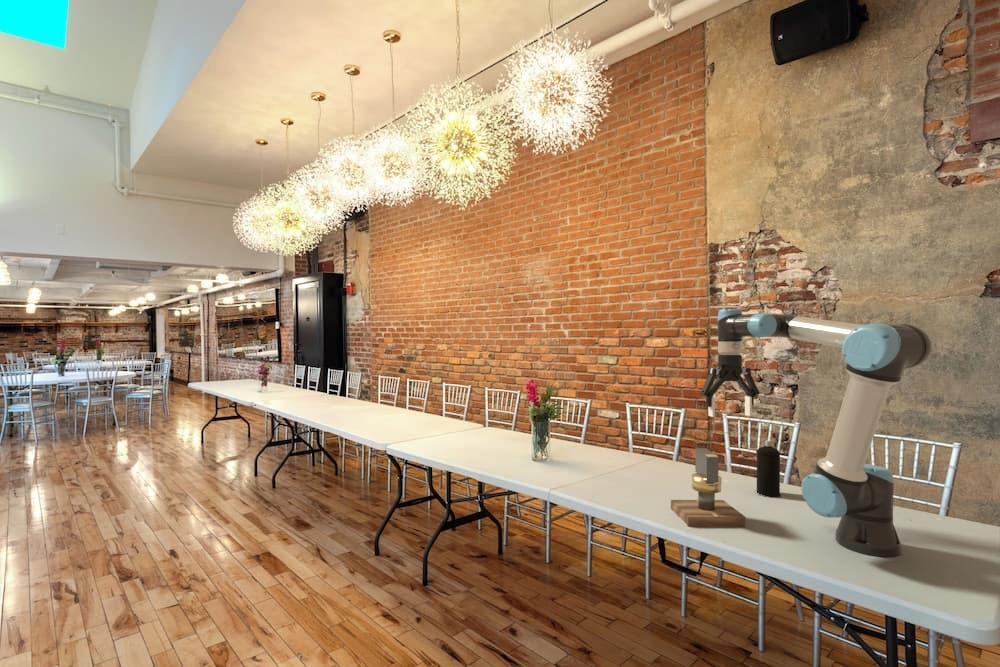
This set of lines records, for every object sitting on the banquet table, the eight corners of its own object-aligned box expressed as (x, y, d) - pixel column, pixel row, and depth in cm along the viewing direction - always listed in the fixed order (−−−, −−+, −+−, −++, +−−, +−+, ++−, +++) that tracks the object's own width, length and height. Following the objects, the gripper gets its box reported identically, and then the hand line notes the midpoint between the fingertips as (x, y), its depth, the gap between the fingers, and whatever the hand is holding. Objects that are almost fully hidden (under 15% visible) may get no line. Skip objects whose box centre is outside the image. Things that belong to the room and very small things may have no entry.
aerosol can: (779, 498, 185) (780, 444, 185) (754, 495, 190) (754, 441, 189) (781, 492, 192) (781, 440, 192) (756, 489, 197) (757, 437, 196)
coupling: (714, 483, 172) (714, 447, 172) (727, 495, 160) (727, 456, 160) (687, 483, 173) (687, 447, 173) (697, 494, 161) (698, 455, 161)
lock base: (745, 526, 159) (745, 497, 159) (688, 526, 159) (688, 497, 159) (723, 508, 175) (723, 482, 175) (670, 508, 175) (670, 482, 175)
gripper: (701, 354, 169) (701, 418, 169) (770, 354, 172) (770, 416, 172) (690, 353, 176) (690, 415, 176) (756, 353, 179) (756, 413, 179)
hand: (730, 416), depth 174 cm, fingers open, 13 cm apart
